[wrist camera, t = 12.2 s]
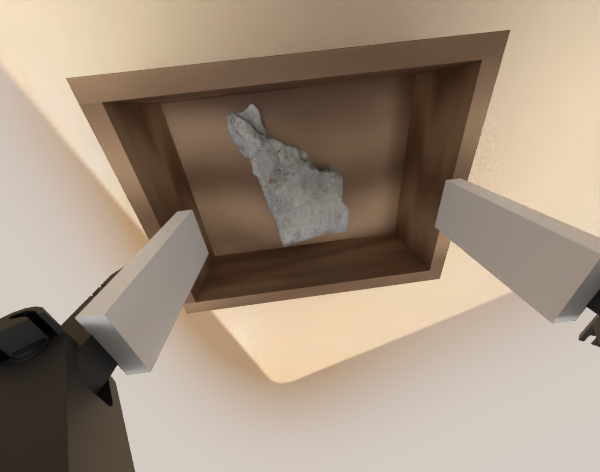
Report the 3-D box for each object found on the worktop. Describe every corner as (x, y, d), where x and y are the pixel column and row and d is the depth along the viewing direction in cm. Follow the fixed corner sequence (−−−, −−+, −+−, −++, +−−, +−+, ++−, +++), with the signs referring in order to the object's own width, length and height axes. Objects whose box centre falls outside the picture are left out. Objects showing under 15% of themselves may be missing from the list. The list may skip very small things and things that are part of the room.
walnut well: (146, 88, 16) (65, 78, 10) (424, 57, 16) (509, 30, 10) (210, 259, 23) (187, 313, 17) (398, 235, 24) (439, 278, 18)
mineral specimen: (311, 85, 16) (323, 71, 13) (351, 225, 22) (368, 246, 18) (230, 119, 17) (217, 116, 13) (288, 249, 22) (291, 274, 18)
